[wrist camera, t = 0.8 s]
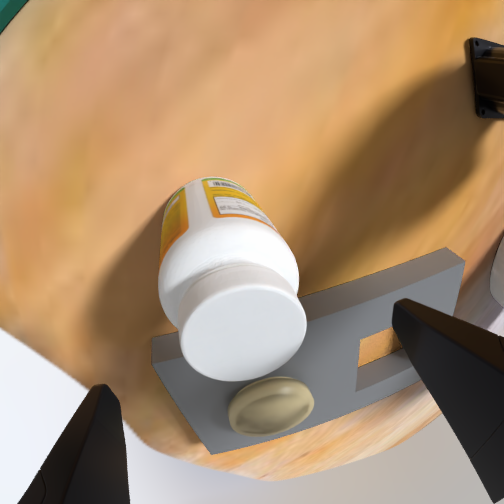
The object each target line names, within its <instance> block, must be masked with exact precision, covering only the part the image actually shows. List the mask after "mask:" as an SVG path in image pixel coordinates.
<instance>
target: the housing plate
mask: <svg viewBox="0 0 504 504" xmlns="http://www.w3.org/2000/svg"><path fill="white" fill-rule="evenodd" d="M464 266H465V261H464V260H463V259H462V258H460V257H459V256H458V255H456V254H455V253H454V252H452V251H451V250H449V249H448V248H447V247H446V248H443V249H440V250H438V251H435V252H432V253H430V254H427V255H424V256H422V257H419V258H416V259H414V260H411V261H408V262H405V263H403V264H400V265H397V266H394V267H391V268H388V269H386V270H383V271H380V272H377V273H374V274H371V275H368V276H365V277H362V278H359V279H356V280H353V281H350V282H347V283H344V284H341V285H338V286H335V287H332V288H329V289H326V290H323V291H320V292H316V293H313V294H310V295H307V296H304V297H300V298H298V299H299V301H300V303H301V305H302V307H303V309H304V311H305V315H306V322H307V327H306V333H305V337H304V339H303V342H302V344H301V346H300V347H299V349H298V350H297V352H296V353H295V354H294V355H293V356H292V357H291V358H290V359H289V360H288V361H287V362H286V363H285V364H284V365H282V366H281V367H279V368H278V369H276V370H274V371H272V372H270V373H268V374H266V375H264V376H261V377H258V378H255V379H250V380H244V381H221V380H216V379H213V378H210V377H207V376H204V375H202V374H201V373H199V372H197V371H196V370H195V369H194V368H192V367H191V366H190V365H189V363H188V362H187V361H186V359H185V358H184V356H183V353H182V351H181V347H180V341H179V332H175V333H171V334H167V335H162V336H158V337H154V338H152V357H151V364H152V366H153V368H154V369H155V371H156V373H157V375H158V376H159V378H160V379H161V381H162V383H163V384H164V386H165V388H166V389H167V391H168V392H169V394H170V396H171V397H172V399H173V400H174V402H175V403H176V405H177V406H178V408H179V409H180V411H181V412H182V414H183V415H184V417H185V418H186V420H187V421H188V423H189V424H190V426H191V427H192V429H193V430H194V431H195V433H196V434H197V436H198V437H199V438H200V440H201V441H202V443H203V444H204V445H205V447H206V448H207V449H208V451H209V452H210V454H211V455H213V454H218V453H223V452H227V451H231V450H236V449H240V448H244V447H248V446H252V445H256V444H259V443H263V442H267V441H270V440H274V439H277V438H280V437H284V436H287V435H290V434H293V433H296V432H299V431H302V430H305V429H308V428H311V427H314V426H317V425H320V424H322V423H325V422H328V421H331V420H333V419H336V418H338V417H341V416H344V415H346V414H349V413H351V412H353V411H356V410H358V409H361V408H363V407H365V406H368V405H370V404H372V403H374V402H377V401H379V400H381V399H383V398H385V397H388V396H390V395H392V394H394V393H396V392H398V391H400V390H402V389H404V388H406V387H408V386H410V385H412V384H414V383H416V382H418V381H420V380H422V379H421V378H420V376H419V375H418V373H417V372H416V370H415V369H414V367H413V365H412V364H411V362H410V360H409V358H408V356H407V354H406V352H405V350H404V348H402V349H400V350H398V351H396V352H394V353H391V354H389V355H387V356H385V357H382V358H380V359H378V360H375V361H373V362H371V363H368V364H366V365H363V366H361V367H358V359H359V346H360V339H363V338H366V337H368V336H371V335H373V334H376V333H378V332H380V331H383V330H385V329H388V328H390V327H392V313H393V306H394V303H395V302H396V301H398V300H400V299H403V298H408V299H411V300H413V301H416V302H418V303H421V304H423V305H426V306H428V307H431V308H433V309H436V310H438V311H441V312H443V313H446V314H448V315H451V316H453V313H454V310H455V306H456V302H457V298H458V294H459V290H460V285H461V281H462V276H463V271H464Z"/></svg>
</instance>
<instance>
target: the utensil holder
mask: <svg viewBox="0 0 504 504" xmlns="http://www.w3.org/2000/svg"><path fill="white" fill-rule="evenodd" d="M490 291H491V294H492V296H493V297H494V299H495V300H496V301H497V302H498V303H499V304H500V305H501V306H502V307H503V308H504V236H503V239H502V241H501V243H500V245H499V248H498V250H497V253H496V256H495V259H494V262H493V266H492V270H491V276H490Z"/></svg>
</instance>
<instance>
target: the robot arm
mask: <svg viewBox="0 0 504 504" xmlns="http://www.w3.org/2000/svg"><path fill="white" fill-rule="evenodd" d="M469 41H470V49H471V57H472V65H473V74H474V86H475V101H476V114H477V116H478V117H480V118H504V45H500V44H497V43H494V42H490V41H487V40H483V39H480V38H470V40H469ZM392 326H393V329H394V331H395V333H396V335H397V336H398V338H399V340H400V342H401V344H402V346H403V348H404V350H405V352H406V354H407V356H408V358H409V360H410V362H411V364H412V365H413V367H414V369H415V370H416V372H417V373H418V375H419V376H420V378H421V379H422V381H423V383H424V384H425V386H426V387H427V389H428V390H429V392H430V394H431V395H432V397H433V398H434V400H435V402H436V403H437V405H438V406H439V408H440V410H441V411H442V413H443V415H444V416H445V418H446V419H447V421H448V423H449V424H450V426H451V428H452V429H453V431H454V433H455V434H456V436H457V438H458V440H459V441H460V443H461V445H462V447H463V448H464V450H465V452H466V454H467V455H468V457H469V459H470V461H471V463H472V465H473V467H474V468H475V470H476V472H477V474H478V476H479V477H480V479H481V481H482V483H483V485H484V487H485V489H486V491H487V493H488V495H489V496H490V498H491V500H492V502H493V503H494V504H495V503H496V502H498V501H500V500H501V499H503V498H504V337H502V336H498V335H497V334H494V333H492V332H490V331H487V330H485V329H482V328H480V327H478V326H475V325H473V324H470V323H468V322H465V321H463V320H460V319H458V318H456V317H453V316H451V315H448V314H446V313H443V312H441V311H438V310H436V309H433V308H431V307H428V306H426V305H423V304H421V303H418V302H416V301H413V300H411V299H408V298H403V299H400V300H398V301H396V302H395V303H394V306H393V313H392ZM40 469H41V470H39V471H38V473H37V474H36V476H35V478H34V479H33V481H32V483H31V484H30V486H29V488H28V489H27V490H26V492H25V493H24V495H23V496H22V498H21V499H20V501H19V502H18V503H17V504H130V496H129V485H128V472H127V455H126V444H125V437H124V431H123V423H122V415H121V407H120V402H119V400H118V398H117V397H116V396H115V394H114V393H113V392H112V391H111V389H110V388H109V387H108V386H107V385H106V384H98V385H94V386H93V387H92V388H91V389H90V391H89V392H88V394H87V395H86V397H85V398H84V400H83V401H82V403H81V405H80V406H79V407H78V409H77V410H76V412H75V413H74V415H73V417H72V418H71V420H70V421H69V423H68V424H67V426H66V427H65V429H64V431H63V432H62V434H61V436H60V437H59V438H58V440H57V442H56V443H55V445H54V446H53V448H52V450H51V451H50V453H49V455H48V456H47V458H46V460H45V461H44V463H43V465H42V466H41V468H40Z"/></svg>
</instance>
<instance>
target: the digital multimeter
mask: <svg viewBox="0 0 504 504" xmlns="http://www.w3.org/2000/svg"><path fill="white" fill-rule="evenodd" d="M26 1H27V0H0V33H1V31H2V30H3V29H4V28H5V26H6V25H7V24H8V23H9V21H10V20H11V19H12V18H13V17H14V15H15V14H16V13H17V12H18V11H19V10H20V8H21V7H22V6H23V5H24V4H25V3H26Z"/></svg>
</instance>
